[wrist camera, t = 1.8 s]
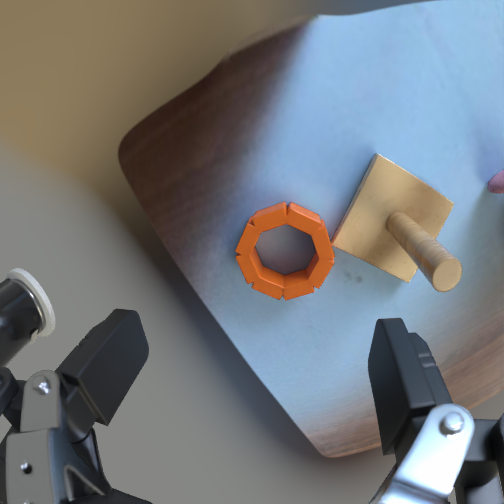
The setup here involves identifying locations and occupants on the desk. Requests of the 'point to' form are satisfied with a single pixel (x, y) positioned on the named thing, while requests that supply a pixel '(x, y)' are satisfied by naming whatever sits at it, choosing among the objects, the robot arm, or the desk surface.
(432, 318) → the desk surface
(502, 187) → the video game controller
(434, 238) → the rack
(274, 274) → the ring
